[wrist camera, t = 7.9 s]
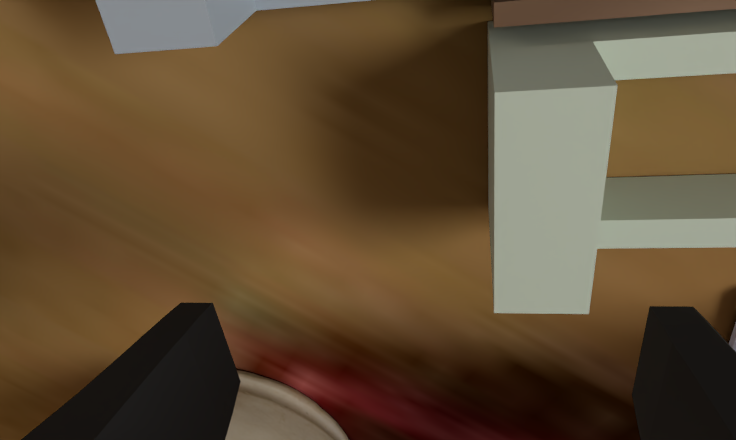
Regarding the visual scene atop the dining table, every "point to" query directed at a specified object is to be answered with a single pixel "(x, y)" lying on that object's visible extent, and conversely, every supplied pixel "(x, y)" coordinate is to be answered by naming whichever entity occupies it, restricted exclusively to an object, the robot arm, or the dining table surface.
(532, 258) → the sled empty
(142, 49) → the gray rectangular open frame
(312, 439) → the jug
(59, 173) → the dining table surface
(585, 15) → the walnut guide
